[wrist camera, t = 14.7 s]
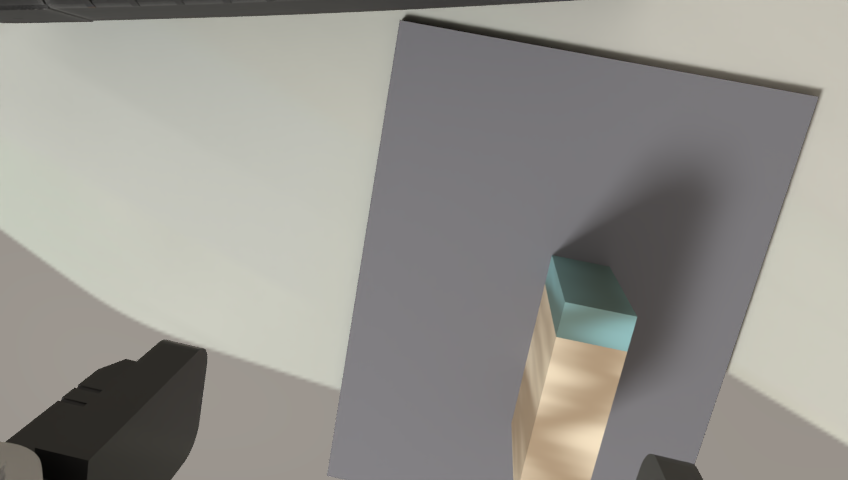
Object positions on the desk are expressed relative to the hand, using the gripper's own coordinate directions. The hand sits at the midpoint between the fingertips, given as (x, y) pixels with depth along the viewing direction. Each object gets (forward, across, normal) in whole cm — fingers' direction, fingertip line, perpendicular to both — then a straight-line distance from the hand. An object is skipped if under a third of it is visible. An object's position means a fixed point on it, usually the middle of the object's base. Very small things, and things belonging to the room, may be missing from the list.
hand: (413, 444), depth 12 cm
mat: (+23, -6, +5) cm, 24 cm away
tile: (+19, -7, +12) cm, 24 cm away
